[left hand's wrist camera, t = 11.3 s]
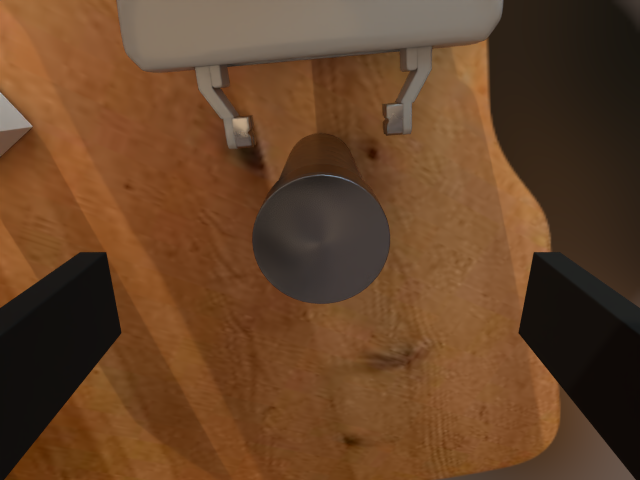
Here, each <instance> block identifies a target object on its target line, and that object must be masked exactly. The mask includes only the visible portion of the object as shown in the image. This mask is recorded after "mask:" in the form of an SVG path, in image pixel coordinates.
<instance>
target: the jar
mask: <svg viewBox="0 0 640 480" xmlns="http://www.w3.org/2000/svg"><path fill="white" fill-rule="evenodd" d="M313 164H329V165H335V166H339V167H342V168H345V169H347V170H349V171H351V172H353V173H355V174H356V175H358V176H359V177H360V178H362V177H361V175H360V172H359V170H358V168H357V166H356V164H355V161H354V159H353V157H352V155H351V153H350V151H349V149H348V147H347V146H346V145H345V144H344V143H343V142H342V141H341V140H339V139H338V138H336V137H334V136H332V135H329V134H322V133H320V134H312V135H309V136H307V137H305V138H303V139H301V140H300V141H299V142H298V143H297V144H296V145H295V146H294V147H293V149H292V151H291V153H290V155H289V157H288V159H287V162H286V164H285V166H284V169H283V171H282V173H281V176H280V178H279V180H280V179H281V178H282V177H283V176H285V175H286V174H288V173H289V172H291V171H293V170H295V169H297V168H300V167H303V166H307V165H313Z"/></svg>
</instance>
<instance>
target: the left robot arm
mask: <svg viewBox="0 0 640 480" xmlns="http://www.w3.org/2000/svg"><path fill="white" fill-rule="evenodd" d="M120 334H121V328H120V323H119V317H118V312H117V307H116V302H115V296H114V291H113V286H112V280H111V275H110V270H109V265H108V259H107V254H106V252H80V253H78V254H77V255H76V256H74V257H73V258H71V259H70V260H68V261H67V262H66V263H64V264H63V265H61V266H60V267H58V268H57V269H56V270H54V271H53V272H51V273H50V274H48V275H47V276H46V277H44V278H43V279H41V280H40V281H38V282H37V283H36V284H34V285H33V286H31V287H30V288H28V289H27V290H25V291H24V292H23V293H21V294H20V295H18V296H17V297H15V298H14V299H13V300H11V301H10V302H8V303H7V304H5V305H4V306H3V307H1V308H0V480H4V479H5V478H6V477H7V475H8V474H9V473H10V472H11V470H12V469H13V468H14V467H15V465H16V464H17V463H18V462H19V460H20V459H21V458H22V457H23V455H24V454H25V453H26V452H27V450H28V449H29V448H30V447H31V445H32V444H33V443H34V442H35V440H36V439H37V438H38V437H39V435H40V434H41V433H42V432H43V430H44V429H45V428H46V427H47V425H48V424H49V423H50V422H51V420H52V419H53V418H54V417H55V415H56V414H57V413H58V412H59V410H60V409H61V408H62V407H63V405H64V404H65V403H66V402H67V400H68V399H69V398H70V397H71V395H72V394H73V393H74V392H75V390H76V389H77V388H78V387H79V385H80V384H81V383H82V382H83V380H84V379H85V378H86V377H87V375H88V374H89V373H90V372H91V370H92V369H93V368H94V367H95V365H96V364H97V363H98V362H99V360H100V359H101V358H102V357H103V355H104V354H105V353H106V352H107V350H108V349H109V348H110V347H111V345H112V344H113V343H114V342H115V340H116V339H117V338H118V337H119V335H120ZM519 334H520V335H521V337H522V338H523V339H524V340H525V342H526V343H527V344H528V345H529V347H530V348H531V349H532V350H533V352H534V353H535V354H536V355H537V357H538V358H539V359H540V360H541V362H542V363H543V364H544V365H545V367H546V368H547V369H548V370H549V372H550V373H551V374H552V375H553V377H554V378H555V379H556V380H557V382H558V383H559V384H560V385H561V387H562V388H563V389H564V390H565V392H566V393H567V394H568V395H569V397H570V398H571V399H572V400H573V402H574V403H575V404H576V405H577V407H578V408H579V409H580V410H581V412H582V413H583V414H584V415H585V417H586V418H587V419H588V420H589V422H590V423H591V424H592V425H593V427H594V428H595V429H596V430H597V432H598V433H599V434H600V435H601V437H602V438H603V439H604V440H605V442H606V443H607V444H608V445H609V447H610V448H611V449H612V450H613V452H614V453H615V454H616V455H617V457H618V458H619V459H620V460H621V462H622V463H623V464H624V465H625V467H626V468H627V469H628V470H629V472H630V473H631V474H632V475H633V477H634V478H635V479H636V480H640V308H639V307H637V306H636V305H635V304H633V303H632V302H630V301H629V300H627V299H626V298H625V297H623V296H622V295H620V294H619V293H617V292H616V291H615V290H613V289H612V288H610V287H609V286H607V285H606V284H604V283H603V282H602V281H600V280H599V279H597V278H596V277H594V276H593V275H592V274H590V273H589V272H587V271H586V270H584V269H583V268H582V267H580V266H579V265H577V264H576V263H574V262H573V261H572V260H570V259H569V258H567V257H566V256H564V255H563V254H561V253H560V252H534V254H533V259H532V265H531V270H530V275H529V281H528V286H527V291H526V296H525V302H524V307H523V312H522V317H521V323H520V328H519Z"/></svg>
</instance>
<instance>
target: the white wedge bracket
mask: <svg viewBox="0 0 640 480" xmlns="http://www.w3.org/2000/svg"><path fill="white" fill-rule="evenodd" d="M32 127H33V126H32V125H31V124H30V123H29V122H28V121H27V120H26V119H25V118H24V117H23V116H22V115H21V113H20V112H19V111H18V110H17V109H16V108H15V107H14V106H13V105H12V104H11V103H10V102H9V101H8V100H7V99H6V98H5V97H4V96H3V95H2V93H1V92H0V157H1V156H2V155H3V154H4V153H5V152H6V151H7V150H8V149H9V148H10V147H11V146H13V145H14V144H15V143H16V142H17V141H18V140H19V139H20V138H21V137H22V136H23V135H24V134H25V133H27V132H28V131H29V130H30V129H31V128H32Z"/></svg>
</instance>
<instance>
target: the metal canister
mask: <svg viewBox="0 0 640 480" xmlns="http://www.w3.org/2000/svg"><path fill="white" fill-rule="evenodd" d="M252 243H253V251H254V255H255V258H256V261H257V263H258V266H259V268H260V269H261V271H262V273H263V274H264V276H265V277H266V278H267V280H268V281H269V282H270V283H271V284H272V285H273V286H274V287H276V288H277V289H278V290H279V291H281V292H283V293H284V294H286V295H287V296H290V297H292V298H294V299H297V300H300V301H303V302H308V303H316V304H326V303H334V302H339V301H342V300H346V299H348V298H350V297H353V296H355V295H356V294H358V293H360V292H361V291H363V290H364V289H365V288H367V287H368V286H369V285H370V284H371V283H372V282H373V281H374V280H375V279H376V277H377V276H378V275H379V273H380V272H381V270H382V269H383V267H384V264H385V262H386V260H387V256H388V253H389V247H390V231H389V225H388V222H387V218H386V216H385V214H384V211H383V209H382V207H381V205H380V203H379V201H378V199H377V197H376V196H375V194H374V192H373V191H372V189H371V188H370V187H369V185H368V184H367V183H366V182H365V181H364V180H363V179H362V178H360V177H359V176H358V175H356V174H355V173H353V172H351V171H349V170H347V169H345V168H342V167H339V166H335V165H329V164H313V165H307V166H303V167H300V168H297V169H295V170H293V171H291V172H289V173H288V174H286V175H285V176H283V177H282V178H281V179H280V180H278V181H277V182H276V183H275V185H274V186H273V187H272V188H271V190H270V191H269V193H268V194H267V196H266V198H265V200H264V202H263V204H262V206H261V208H260V211H259V213H258V215H257V217H256V220H255V223H254V228H253V237H252Z"/></svg>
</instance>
